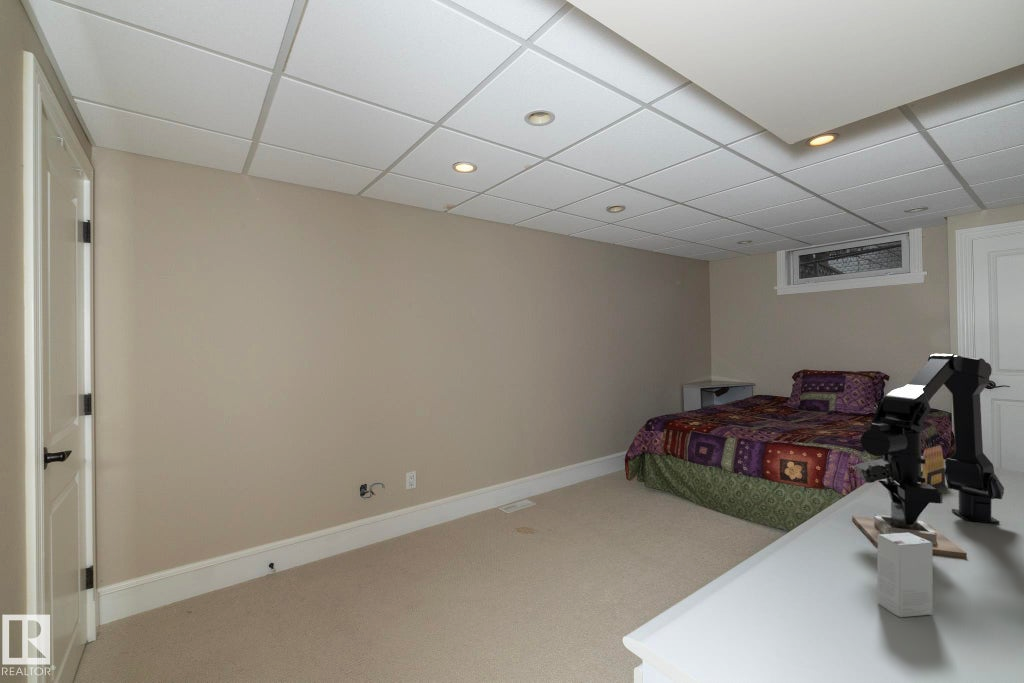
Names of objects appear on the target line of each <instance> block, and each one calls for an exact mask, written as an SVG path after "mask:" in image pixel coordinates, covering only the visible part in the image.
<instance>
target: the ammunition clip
mask: <svg viewBox="0 0 1024 683" xmlns="http://www.w3.org/2000/svg"><path fill="white" fill-rule="evenodd" d="M922 458H924V459H925V464H921V476H922V477H924V478H925V483H922V482H920V484H929V485H931V486H932V487H934V488H935V489H937V487H938V488H941V487H943V486H942V485H944V486H945V485H946V476H945V468H946V467H944V463H945V461H944V454H943V448H942V446H941V444H938V445H936V446H933V447H932V446H931V447H928V448H924V451H923V457H922ZM940 486H941V487H940Z"/></svg>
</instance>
